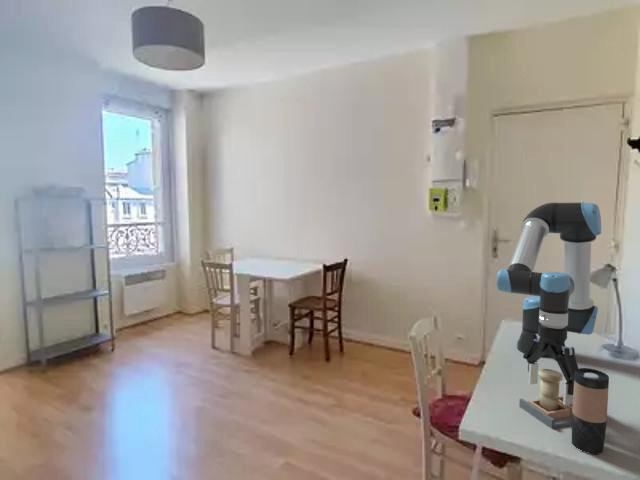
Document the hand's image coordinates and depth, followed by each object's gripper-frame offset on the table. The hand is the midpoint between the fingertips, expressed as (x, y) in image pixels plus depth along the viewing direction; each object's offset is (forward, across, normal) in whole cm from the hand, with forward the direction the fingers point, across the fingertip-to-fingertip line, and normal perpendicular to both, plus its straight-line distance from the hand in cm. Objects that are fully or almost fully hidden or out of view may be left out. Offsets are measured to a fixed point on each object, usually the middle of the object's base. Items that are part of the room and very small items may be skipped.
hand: (549, 393), depth 126 cm
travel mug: (+7, +16, -2) cm, 18 cm away
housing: (+7, 0, +4) cm, 8 cm away
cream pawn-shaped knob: (+6, 0, 0) cm, 6 cm away
